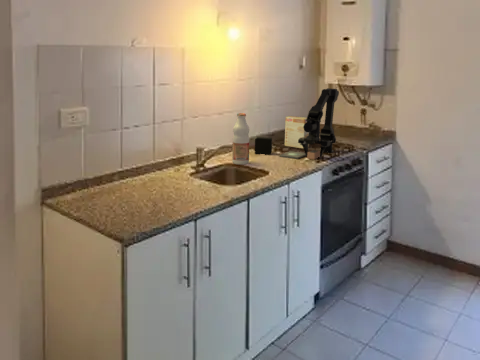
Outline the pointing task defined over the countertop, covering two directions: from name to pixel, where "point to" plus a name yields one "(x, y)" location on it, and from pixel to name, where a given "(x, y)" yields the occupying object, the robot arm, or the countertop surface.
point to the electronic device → (263, 145)
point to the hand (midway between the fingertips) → (313, 156)
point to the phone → (313, 154)
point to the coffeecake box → (295, 131)
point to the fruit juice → (241, 140)
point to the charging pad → (293, 155)
